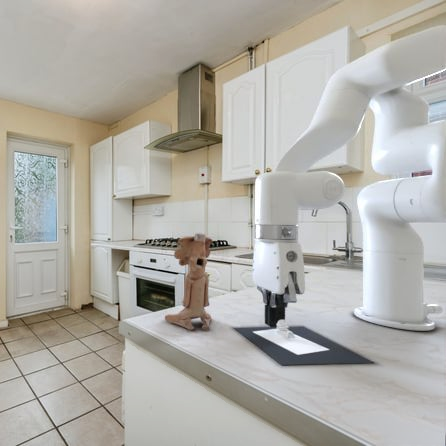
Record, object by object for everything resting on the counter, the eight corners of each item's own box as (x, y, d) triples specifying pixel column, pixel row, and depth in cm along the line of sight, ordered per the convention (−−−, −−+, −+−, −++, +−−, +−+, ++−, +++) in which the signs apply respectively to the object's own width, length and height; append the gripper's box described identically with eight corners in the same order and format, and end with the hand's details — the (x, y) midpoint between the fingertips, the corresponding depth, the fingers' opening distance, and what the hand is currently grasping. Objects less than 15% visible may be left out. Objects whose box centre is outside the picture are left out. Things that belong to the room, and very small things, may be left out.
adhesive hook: (284, 334, 54) (284, 318, 54) (296, 339, 52) (296, 322, 52) (271, 335, 53) (271, 319, 53) (283, 341, 51) (283, 324, 51)
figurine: (210, 318, 63) (209, 231, 63) (220, 333, 55) (220, 233, 55) (163, 317, 64) (163, 231, 64) (167, 331, 56) (167, 233, 56)
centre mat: (303, 326, 58) (303, 326, 58) (374, 363, 43) (374, 362, 43) (233, 328, 57) (233, 327, 57) (281, 365, 42) (281, 364, 42)
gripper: (323, 236, 48) (322, 341, 48) (270, 233, 63) (270, 313, 63) (281, 235, 48) (280, 341, 47) (238, 232, 62) (237, 313, 62)
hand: (274, 325), depth 55 cm, fingers closed
